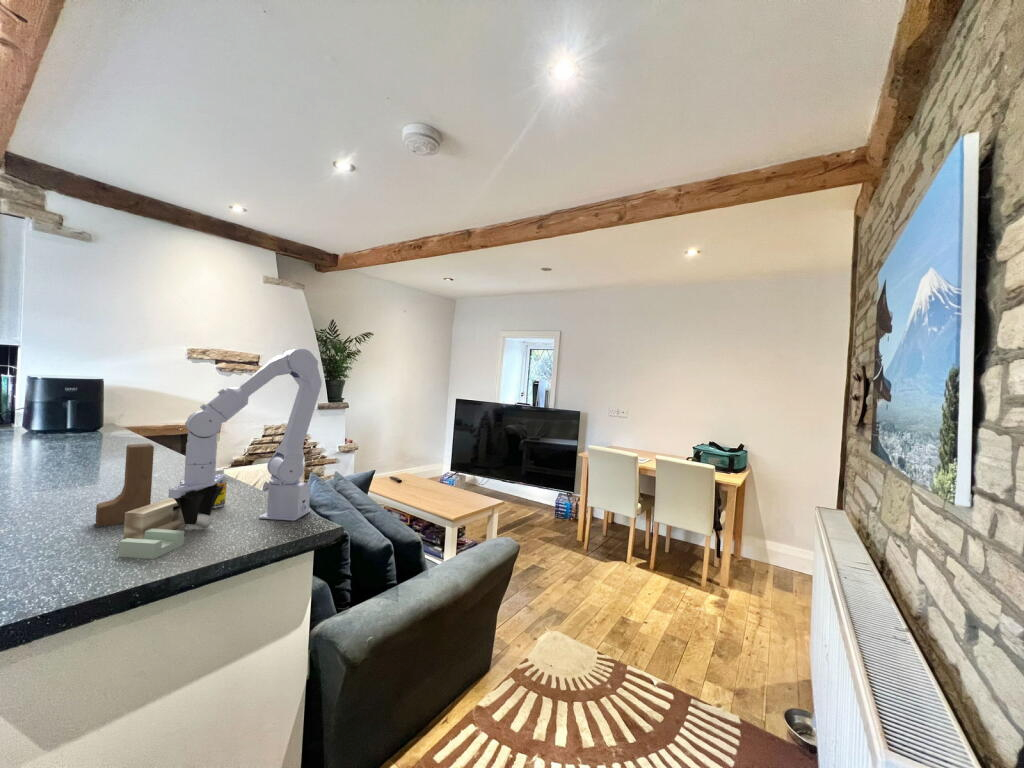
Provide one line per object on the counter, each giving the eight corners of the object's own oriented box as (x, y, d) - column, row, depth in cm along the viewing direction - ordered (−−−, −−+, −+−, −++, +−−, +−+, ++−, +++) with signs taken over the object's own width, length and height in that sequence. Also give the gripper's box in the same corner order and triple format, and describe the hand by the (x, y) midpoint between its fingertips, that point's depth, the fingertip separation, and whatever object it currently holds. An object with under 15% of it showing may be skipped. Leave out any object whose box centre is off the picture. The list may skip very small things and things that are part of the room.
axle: (211, 526, 96) (214, 514, 96) (202, 530, 93) (205, 518, 93) (171, 513, 96) (174, 502, 96) (160, 517, 93) (164, 506, 93)
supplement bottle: (201, 511, 107) (203, 472, 107) (198, 505, 111) (200, 468, 111) (227, 507, 110) (229, 470, 110) (223, 502, 114) (225, 466, 114)
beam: (207, 515, 103) (209, 491, 103) (141, 543, 85) (143, 513, 85) (192, 514, 103) (193, 490, 103) (123, 541, 85) (125, 512, 86)
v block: (183, 544, 86) (184, 530, 86) (153, 559, 79) (154, 543, 79) (150, 542, 86) (151, 528, 86) (118, 556, 79) (119, 541, 79)
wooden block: (96, 528, 92) (101, 448, 92) (95, 522, 95) (100, 445, 95) (149, 519, 99) (154, 445, 99) (146, 514, 102) (151, 443, 102)
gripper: (207, 455, 102) (204, 510, 102) (156, 467, 87) (152, 530, 87) (235, 457, 102) (232, 511, 102) (188, 469, 87) (184, 532, 87)
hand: (197, 520), depth 94 cm, fingers open, 3 cm apart
